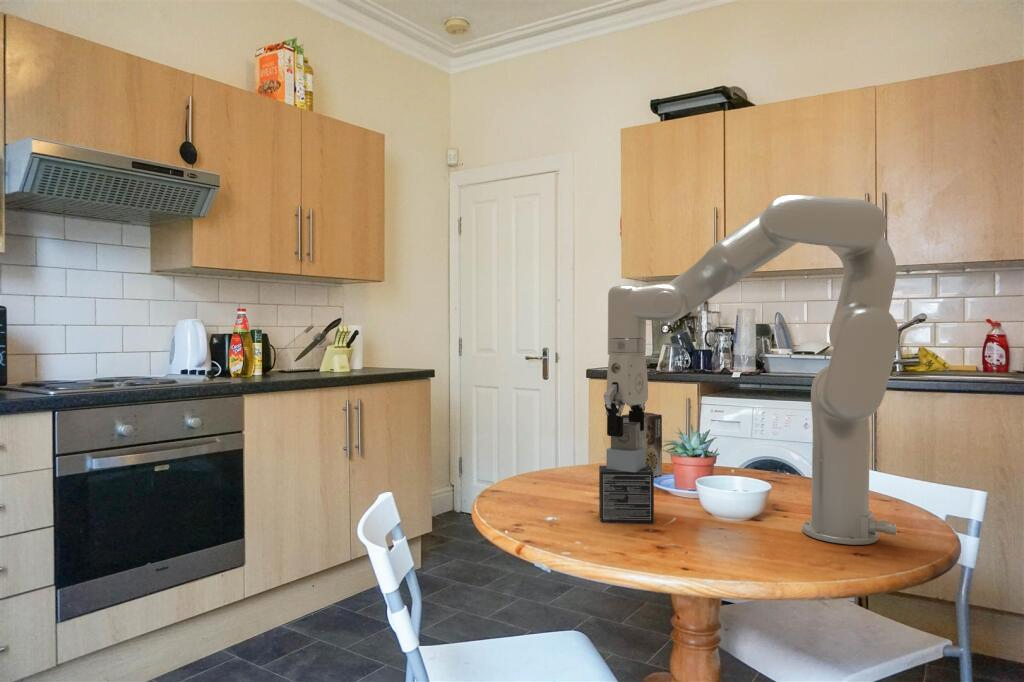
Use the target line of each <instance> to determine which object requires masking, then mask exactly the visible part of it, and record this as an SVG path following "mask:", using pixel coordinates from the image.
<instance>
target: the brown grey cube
mask: <svg viewBox="0 0 1024 682" xmlns="http://www.w3.org/2000/svg"><path fill="white" fill-rule="evenodd" d="M639 447H640V422H623V436H622V437H615V436H610V448H611V449H620V450H634V451H636V450H637V449H638V448H639Z"/></svg>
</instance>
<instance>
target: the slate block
mask: <svg viewBox="0 0 1024 682" xmlns="http://www.w3.org/2000/svg"><path fill="white" fill-rule="evenodd" d="M605 457H606V458H605V459H606V460H605V462H606V465H605V466H606V469H612V470H619V471H627V472H637V471H639V470H640V469H643V468H645V467H646V448H645V447H639V448H638V449H637V450H636V451H634V450H620V449H611V447H607V448H606V456H605Z"/></svg>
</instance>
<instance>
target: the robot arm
mask: <svg viewBox="0 0 1024 682" xmlns="http://www.w3.org/2000/svg"><path fill="white" fill-rule="evenodd" d="M886 229H887V219H886V215H885V213H884V211H883V210H882V209H881V207H879V206H878V205H876V204H874V203H872V202H870V201H868V200H863V199H856V198H845V197H844V198H842V197H830V196H820V195H810V194H809V195H808V194H799V193H798V194H794V193H793V194H791V193H790V194H784V195H781V196H778V197H776V198H774V199H773V200H772V201H771V202H770V203H769V204H768V205H767V207H766V209H764V210H763V211H761V212H760V213H759V214H757V215H756V216H755V217H753V218H752V219H750V220H749V221H747V222H746V223H745V224H743V225H741V226H740V227H738V228H737V229H736V230H733V231H731V233H729V234H728V235H725V237H724V238H722V239H720V240H719V241H717V242H716V243H715V244H713V246H711V247H710V248H709V249H708V250H707V251H706V252H705V254H704V255H703V256H702V257H701V258H700V259H699V260H698V261H697V262H696V263H694V264H693V265H692V266H690V267H689V268H688V269H686V270H685V271H684V272H682V273H681V274H679V275H678V276H677V277H675V278H674V279H672V280H670V281H669V282H667V283H657V284H652V285H641V286H640V285H631V284H628V285H625V284H624V285H615V286H611V288H610V289H609V291H608V293H607V295H608V296H607V355H608V363H607V374H606V391H605V392H604V394H603V400H604V408H605V410H606V411H605V415H606V434H607V435H606V436H608V437H611V436H615V437H622V436H623V416H622V415H623V411H624V409H625V405H626V406H628V407H629V409H630V410H628V414H629V422H640V431H643V430H644V412H645V410H646V406H645V404H646V402H648V399H649V383H648V382H649V381H648V368H647V367H648V365H647V360H646V353H647V347H646V346H647V321H654V322H660V323H666V324H667V323H669V324H670V323H674V322H676V321H678V320H679V319H681V318H683V317H684V316H686V315H687V314H689V313H690V312H692V311H693V310H695V309H697V308H698V307H699V306H701V305H703V304H704V303H706V302H707V301H708V300H710V299H711V298H714V297H715V296H717V294H719V293H722V292H723V291H724V290H726V289H728V288H730V287H733V286H735V285H737V283H738V282H740V281H742V280H744V279H745V278H746V277H747V276H749V275H751V274H753V273H754V272H755V271H757V270H758V269H760V268H761V267H763V266H765V265H766V264H768V263H769V262H771V261H772V260H773V259H775V258H777V257H779V256H780V255H782V254H783V253H784V252H786V251H787V250H789V249H791V248H792V247H794V246H795V245H796V244H798V243H799V244H806V245H813V246H815V245H816V246H825V247H827V248H829V249H830V250H831V252H833V253H834V254H835V255H837V257H838V258H839V260H840V261H841V263H842V266H843V267H842V268H843V277H842V282H841V288H840V292H839V295H838V296H839V297H838V300H837V302H836V303H837V304H836V308H835V310H834V314H833V318H832V320H831V324H830V327H829V332H828V335H829V341H830V343H831V346H832V347H833V348H832V353H831V354H830V355H831V356H830V360H829V364H828V366H825V367H823V368H822V369H820V370H819V371H818V373H817V374H816V375H815V377H814V378H813V381H812V384H811V388H810V402H811V403H810V405H811V406H810V407H811V418H812V419H811V420H812V451H811V458H812V460H811V520H808V521H804V522H803V523H802V532H803V533H804V534H805V535H806V536H808V537H810V538H813V539H816V540H819V541H824V542H827V543H833V544H840V545H841V544H842V545H850V546H851V545H852V546H853V545H855V546H857V545H858V546H859V545H860V546H862V545H863V546H864V545H871V544H874V543H877V541H878V540H879V533H884V534H886V535H892V536H897V533H898V529H897V528H898V527H897V524H896V523H892V522H891V521H889V520H880V519H879V520H878V519H876V517H873V514H874V513H873V511H872V510H870V453H871V433H870V432H871V431H870V420H869V417H871V416H872V415H874V414H875V413H876V412H877V411H878V409H879V407H880V406H881V404H882V402H883V400H884V397H885V395H886V391H887V387H888V383H889V380H890V376H891V372H892V369H893V368H892V367H893V365H894V360H895V356H896V355H897V354H896V353H897V349H898V345H899V334H900V333H899V326H898V323H897V321H896V319H895V318H894V316H893V315H892V314H891V312H890V309H891V305H892V300H893V296H894V290H895V287H896V285H895V284H896V279H897V263H896V259H895V256H894V255H895V254H894V253H893V250H892V248H891V246H890V245H889V242H888V241H887V239H886V238H885V237H884V235H885V233H886Z"/></svg>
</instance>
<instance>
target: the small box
mask: <svg viewBox="0 0 1024 682" xmlns="http://www.w3.org/2000/svg"><path fill="white" fill-rule="evenodd" d="M598 469H599V471H598V473H599V475H598V478H599V480H598V493H599V494H598V496H599V497H598V498H599V499H598V501H599V503H598V505H599V507H598V509H599V512H598V515H599V516H598V517H599V521H600V522H599V523H603V524H606V523H607V524H639V525H640V524H641V525H654V524H655V496H654V495H655V487H654V486H655V481H654V480H655V477H654V471H653V470H652V468H651V467H650V466H646V467H645V468H643V469H640V470H639V471H637V472H627V471H619V470H612V469H606V465H599V467H598Z"/></svg>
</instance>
